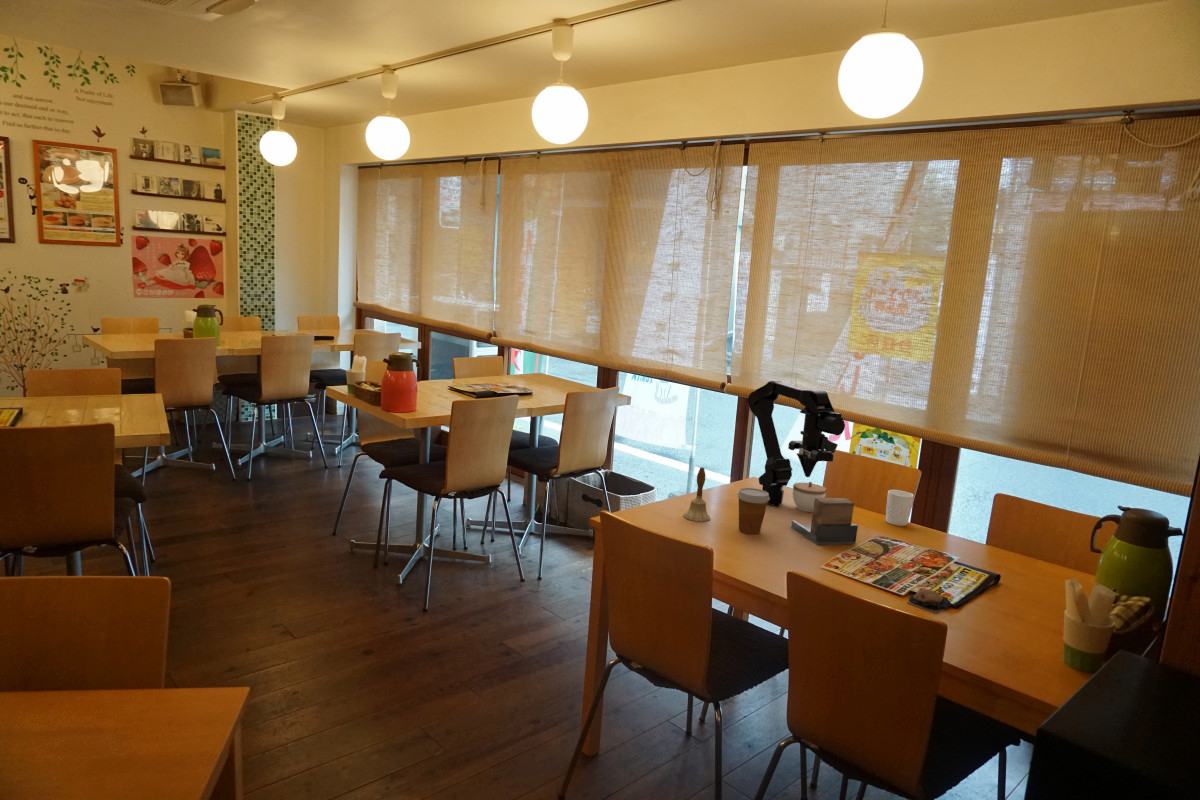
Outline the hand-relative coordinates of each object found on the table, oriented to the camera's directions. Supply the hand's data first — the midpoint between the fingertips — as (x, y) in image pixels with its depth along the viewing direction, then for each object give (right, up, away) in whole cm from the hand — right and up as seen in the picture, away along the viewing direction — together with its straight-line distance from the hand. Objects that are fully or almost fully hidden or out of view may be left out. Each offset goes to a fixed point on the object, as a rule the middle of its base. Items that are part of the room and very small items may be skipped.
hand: (807, 476), depth 246 cm
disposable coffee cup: (-22, -14, -18) cm, 32 cm away
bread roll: (+13, -25, -61) cm, 67 cm away
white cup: (+30, -16, +4) cm, 34 cm away
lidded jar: (+3, -12, +11) cm, 16 cm away
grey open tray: (0, -16, -16) cm, 23 cm away
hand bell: (-37, -12, -9) cm, 40 cm away
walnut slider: (+1, -16, -20) cm, 25 cm away
